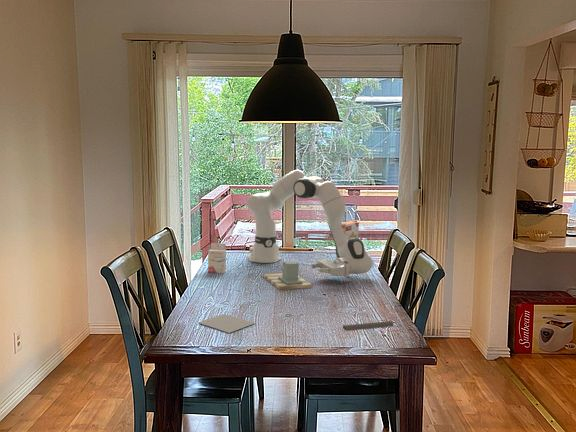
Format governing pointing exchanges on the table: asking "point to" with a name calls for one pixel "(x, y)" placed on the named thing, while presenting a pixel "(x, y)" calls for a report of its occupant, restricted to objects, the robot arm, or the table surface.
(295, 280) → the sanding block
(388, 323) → the half round rod
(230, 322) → the paper stack
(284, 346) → the table surface
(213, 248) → the ink cartridge box
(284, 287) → the birch board
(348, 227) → the cracker box
